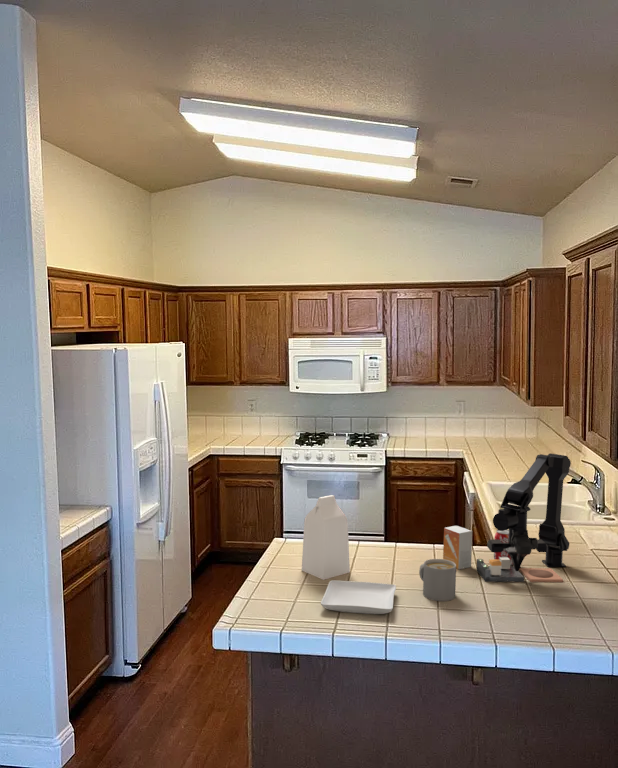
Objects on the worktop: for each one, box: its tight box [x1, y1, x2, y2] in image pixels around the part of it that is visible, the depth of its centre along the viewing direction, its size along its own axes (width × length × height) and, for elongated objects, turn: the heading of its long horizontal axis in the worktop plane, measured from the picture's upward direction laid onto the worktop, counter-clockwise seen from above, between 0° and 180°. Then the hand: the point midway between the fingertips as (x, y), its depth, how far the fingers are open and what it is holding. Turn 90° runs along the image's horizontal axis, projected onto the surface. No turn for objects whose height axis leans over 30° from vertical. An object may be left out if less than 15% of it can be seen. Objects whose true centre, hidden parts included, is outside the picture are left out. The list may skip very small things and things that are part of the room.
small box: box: [442, 525, 473, 570], centre depth 245 cm, size 8×6×13 cm
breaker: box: [489, 558, 501, 575], centre depth 232 cm, size 3×3×4 cm
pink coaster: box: [519, 567, 564, 583], centre depth 235 cm, size 11×11×1 cm
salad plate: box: [320, 579, 397, 615], centre depth 210 cm, size 21×21×3 cm
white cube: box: [499, 557, 510, 569], centre depth 238 cm, size 3×3×3 cm
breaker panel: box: [476, 558, 525, 583], centre depth 235 cm, size 11×13×5 cm
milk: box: [301, 494, 351, 580], centre depth 237 cm, size 12×12×26 cm
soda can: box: [493, 529, 513, 566], centre depth 247 cm, size 7×7×12 cm
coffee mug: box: [418, 558, 457, 602], centre depth 218 cm, size 13×10×10 cm
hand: (516, 570), depth 232 cm, fingers closed
